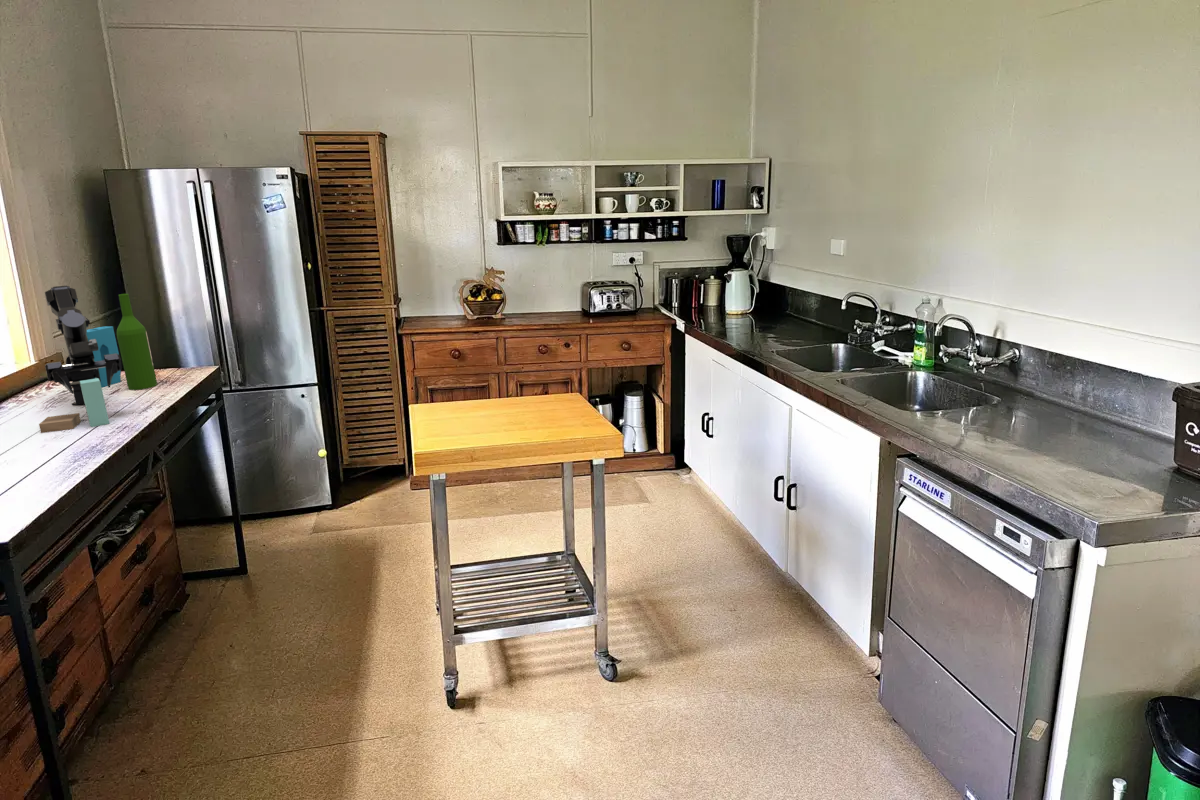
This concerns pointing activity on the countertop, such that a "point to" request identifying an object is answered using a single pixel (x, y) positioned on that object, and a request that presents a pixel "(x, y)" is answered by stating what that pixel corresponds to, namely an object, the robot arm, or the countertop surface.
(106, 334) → the block
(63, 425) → the walnut slab
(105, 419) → the teal block
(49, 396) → the countertop surface
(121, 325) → the wine bottle
